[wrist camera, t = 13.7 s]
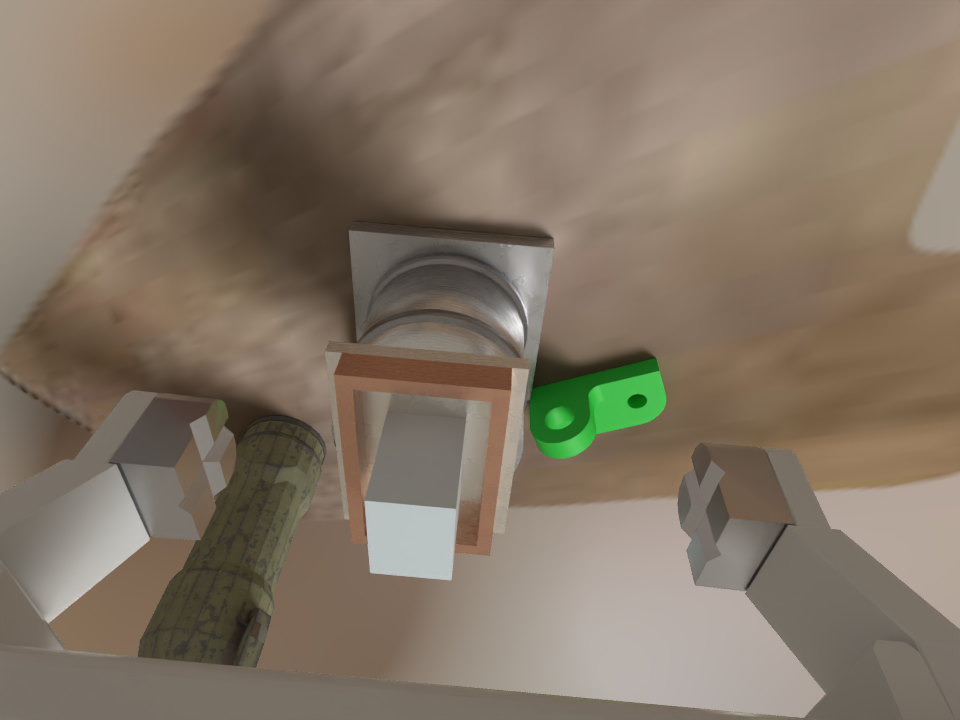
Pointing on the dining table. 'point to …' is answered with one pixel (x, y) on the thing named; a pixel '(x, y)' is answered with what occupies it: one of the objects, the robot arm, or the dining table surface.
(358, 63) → the dining table surface
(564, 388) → the mechanical part
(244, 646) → the thermos
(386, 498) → the pale grey rectangular block
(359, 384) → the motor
